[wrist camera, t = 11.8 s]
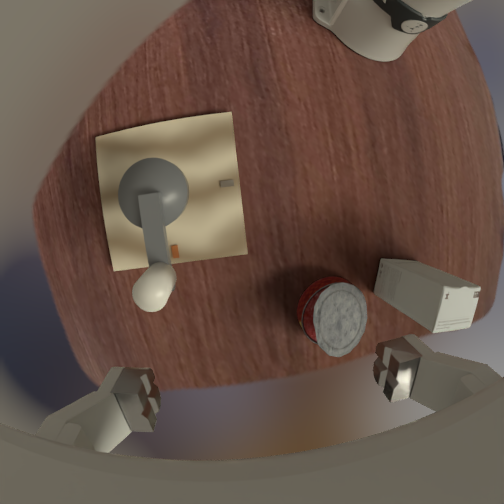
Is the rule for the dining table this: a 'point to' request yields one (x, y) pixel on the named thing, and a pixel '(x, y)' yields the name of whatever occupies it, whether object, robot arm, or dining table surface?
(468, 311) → the skincare box
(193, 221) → the mount board
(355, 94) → the dining table surface
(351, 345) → the canned food
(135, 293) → the white knob lever
